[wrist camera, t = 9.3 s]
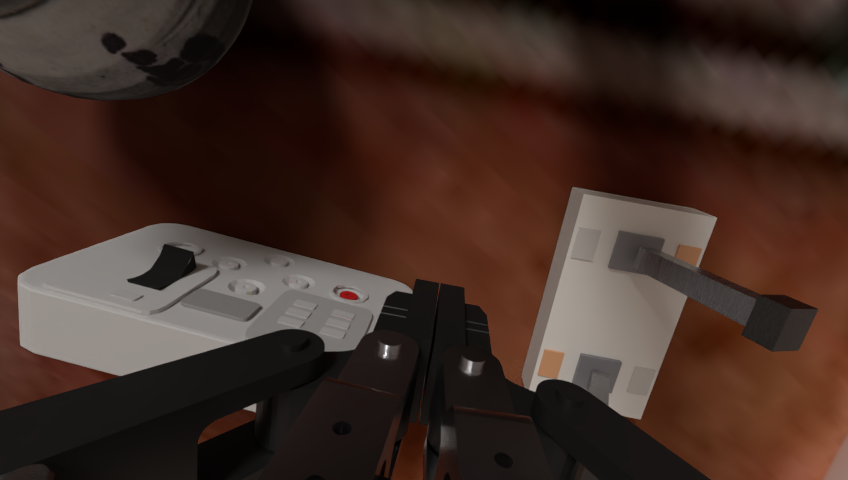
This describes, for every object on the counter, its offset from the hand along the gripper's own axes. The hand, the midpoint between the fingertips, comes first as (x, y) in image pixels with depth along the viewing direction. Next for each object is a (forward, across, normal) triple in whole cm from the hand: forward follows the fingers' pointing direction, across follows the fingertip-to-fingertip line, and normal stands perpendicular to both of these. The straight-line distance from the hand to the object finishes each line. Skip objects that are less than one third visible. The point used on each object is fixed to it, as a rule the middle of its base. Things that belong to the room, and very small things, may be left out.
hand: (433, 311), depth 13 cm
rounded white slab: (+31, +16, +14) cm, 38 cm away
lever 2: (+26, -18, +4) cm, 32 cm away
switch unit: (+31, -18, +10) cm, 37 cm away
